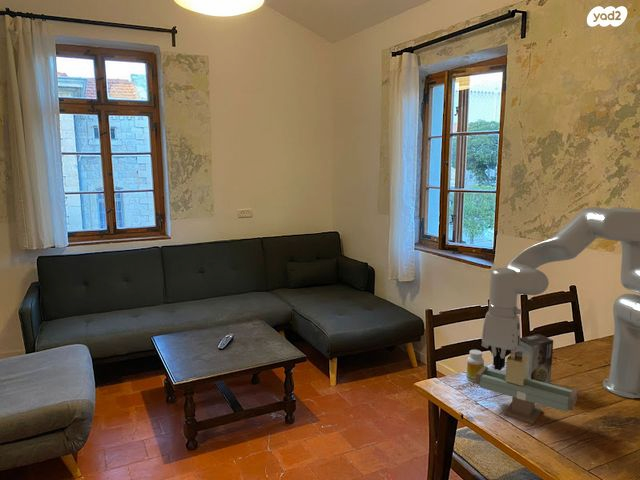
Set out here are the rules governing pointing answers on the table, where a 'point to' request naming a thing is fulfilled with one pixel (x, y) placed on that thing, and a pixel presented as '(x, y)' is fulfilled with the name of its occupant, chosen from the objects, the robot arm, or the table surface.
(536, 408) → the beam
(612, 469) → the table surface
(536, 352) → the coffee box
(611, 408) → the table surface
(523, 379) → the block
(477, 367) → the supplement bottle
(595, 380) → the table surface
